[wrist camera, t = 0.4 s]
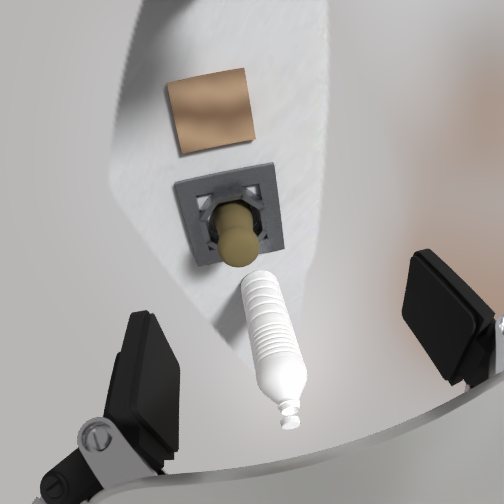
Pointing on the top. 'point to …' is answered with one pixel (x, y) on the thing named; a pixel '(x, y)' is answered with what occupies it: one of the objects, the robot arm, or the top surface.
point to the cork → (236, 233)
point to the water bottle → (273, 344)
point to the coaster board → (212, 110)
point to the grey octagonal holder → (230, 189)
